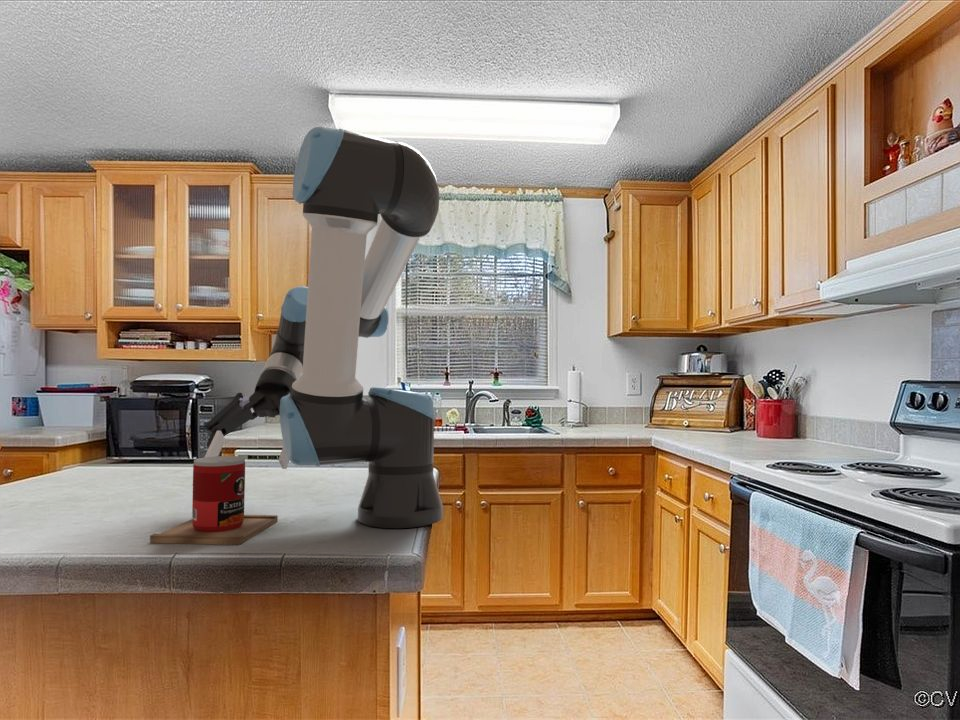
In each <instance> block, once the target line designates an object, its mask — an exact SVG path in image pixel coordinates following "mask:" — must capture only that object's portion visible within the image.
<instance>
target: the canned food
mask: <svg viewBox="0 0 960 720" xmlns="http://www.w3.org/2000/svg"><path fill="white" fill-rule="evenodd" d="M245 459H246V458H245V457H243V456H238V455H237V456H236V455H219V456H214V457H205V456H204V457H200V458H199V457H198V458H195V459H194V460H193V464H192V466H193V467H192V512H191V513H192V515H191V516H192V517H191V519H192V525H193V528H194V529H195V530H197V531H201V532H220V531H227V530H232V529H236V528H238V527H240V526H241V525H242V524H243V521H244V515H245V487H246V460H245Z"/></svg>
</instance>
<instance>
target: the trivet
mask: <svg viewBox="0 0 960 720" xmlns="http://www.w3.org/2000/svg"><path fill="white" fill-rule="evenodd" d="M278 517H279V516H278V515H277V514H276V515H275V514H272V515H271V514H270V515H269V514H267V515H266V514H244V521H243V524H242V525H241V526H240V527H238V528H236V529H232V530H227V531H220V532H201V531H197V530H195V529H194V528H193V525H192V518H191V519H189V520H187V521H185V522H182V523H180V524H178V525H176V526H173V527H171V528H169V529H166V530H164V531H162V532H160V533H153V534H151V535H150V536H149V543H150V544H184V545H187V544H189V545H191V544H192V543H193V544H192V545H194V544H195V545H227V544H230V545H231V544H232V545H231V546H234V545H239V546H240V545H242V544H243V542H244V543H245V542H247V541H249V540H250V539H252V538H253V537H256V536H257V535H258V534H260V533H262V532H263V531H265V530H266V529H268V528H270V527H271V526H273V525H275V524H276V523H278V519H279V518H278ZM269 526H270V527H269ZM264 529H265V530H264ZM261 531H262V532H261ZM256 534H257V535H256Z"/></svg>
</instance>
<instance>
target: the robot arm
mask: <svg viewBox="0 0 960 720" xmlns="http://www.w3.org/2000/svg"><path fill="white" fill-rule="evenodd" d="M438 184H439V183H438V179H437V177H436V174H435V171H434V170H433V168H432V166H431V164H430V162H429V161H428V159H426V157H425V156H424V155H423V154H422V153H421V152H420V151H419V150H417V149H416V148H414V147H413V146H410V145H409V144H406V143H404V142H400V141H392V140H389V139H388V140H387V139H385V138H384V139H383V138H380V137H375V136H372V135H367V134H363V133H359V132H355V131H351V130H347V129H343V128H333V127H326V126H325V127H323V126H315V127H312V128H311V129H309V131H307V133H306V135H305V137H303V140H302V143H301V146H300V148H299V152H298V155H297V159H296V162H295V167H294V173H293V181H292V198H293V200H294V202H297V203H298V204H302V216H303V218H304V219H305V220H306V221H307V222H308V224H309V226H310V227H311V237H310V248H309V249H310V252H309V266H308V283H307V286H302V285H300V286H299V285H298V286H295V287H293V288H290V289H289V290H288V291H287V292H286V294H285V297H284V299H283V303H282V306H281V309H280V312H281V313H280V317H279V323H278V328H277V330H276V335H275V340H274V344H273V346H272V349H271V351H270V353H269V356H268V357H267V360H266V362H265V365H264V366H263V369H262V371H261V374H260V376H259V377H258V380H257V382H256V385H255V387H254V392H253V393H252V394H251V395H249V396H246V395H243V392H238V393H236V394H235V396H234V397H233V398H232V401H230V402H229V403H228V404H227V405H226V406H224V407H223V408H222V409H221V410H220V411H219V412H218V413H216V414H215V415H214V416H213V417H212V418H211V419H210V420H208V421H207V422H206V423H205V424H204V425H203V427H204V429H205V431H206V432H207V435H208V436H209V438H208V441H207V442H206V447H207V451H206V453H205V454H204V457H214V456H220V454H221V451H222V448H223V447H224V444H225V442H226V438H225V437H226V436H227V435H229V434H230V433H231V432H233V431H234V430H236V429H238V428H239V427H241V426H242V425H244V424H245V423H247V422H249V421H253V420H255V419H256V418H258V417H259V418H266V417H267V418H276V417H277V416H279V423H280V431H281V438H282V442H283V445H282V449H281V451H280V454H279V458H278V462H279V465H280V467H281V469H282V470H287V468H288V466H289V462H291V463H292V464H293V465H295V466H301V467H302V466H304V467H305V466H308V467H309V466H314V467H320V466H327V465H328V466H329V465H331V466H332V465H343V464H355V463H366V462H367V463H368V474H367V475H368V476H367V479H366V482H365V486H364V488H363V491H362V495H361V498H360V501H359V504H358V506H357V520H358V522H359V523H360V524H363V525H365V526H369V527H374V528H382V529H407V528H409V529H410V528H411V529H412V528H418V527H425V526H430V525H433V524H436V523H438V522H440V521H441V520H443V516H444V514H443V513H444V508H443V507H444V505H443V502H442V499H441V496H440V495H441V494H440V493H439V489H438V486H437V483H436V479H435V475H434V452H435V451H434V450H435V449H434V445H435V444H434V442H435V440H434V439H435V421H436V418H435V409H434V408H435V407H434V400H433V399H432V397H431V396H430V395H429V394H426V393H424V392H416V391H410V390H409V391H408V390H401V389H394V388H385V387H374V386H372V387H370V388H369V390H368V395H364V386H363V385H362V384H361V383H360V382H359V381H358V380H357V379H356V373H357V372H356V371H357V360H358V346H359V338H367V339H368V338H379V337H382V336H384V335H385V333H386V331H387V329H388V325H389V311H388V308H387V307H386V306H387V304H388V301H390V300H389V299H390V297H391V295H392V294H393V293H394V289H395V288H396V285H397V284H398V281H399V280H400V278H401V276H402V274H403V272H404V270H405V268H406V266H407V264H408V262H409V260H410V259H411V256H412V254H413V253H414V250H415V249H416V246H417V244H418V243H419V240H420V238H424V237H426V236H427V235H428V234H429V233H430V231H431V229H432V228H433V226H434V224H435V222H436V219H437V216H438V212H439V210H440V209H439V207H440V189H439V188H440V187H439V185H438ZM379 216H380V218H381V220H380V223H379V225H378V220H379V219H378V218H379ZM376 226H378V228H377V231H376V232H375V235H374V237H373V238H372V239H373V240H372V242H371V244H370V247H369V249H368V252H367V254H366V248H367V237H368V234H369V233H370V232H371V231H372V230H373V229H374V228H375V227H376ZM252 410H253V412H252Z"/></svg>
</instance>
